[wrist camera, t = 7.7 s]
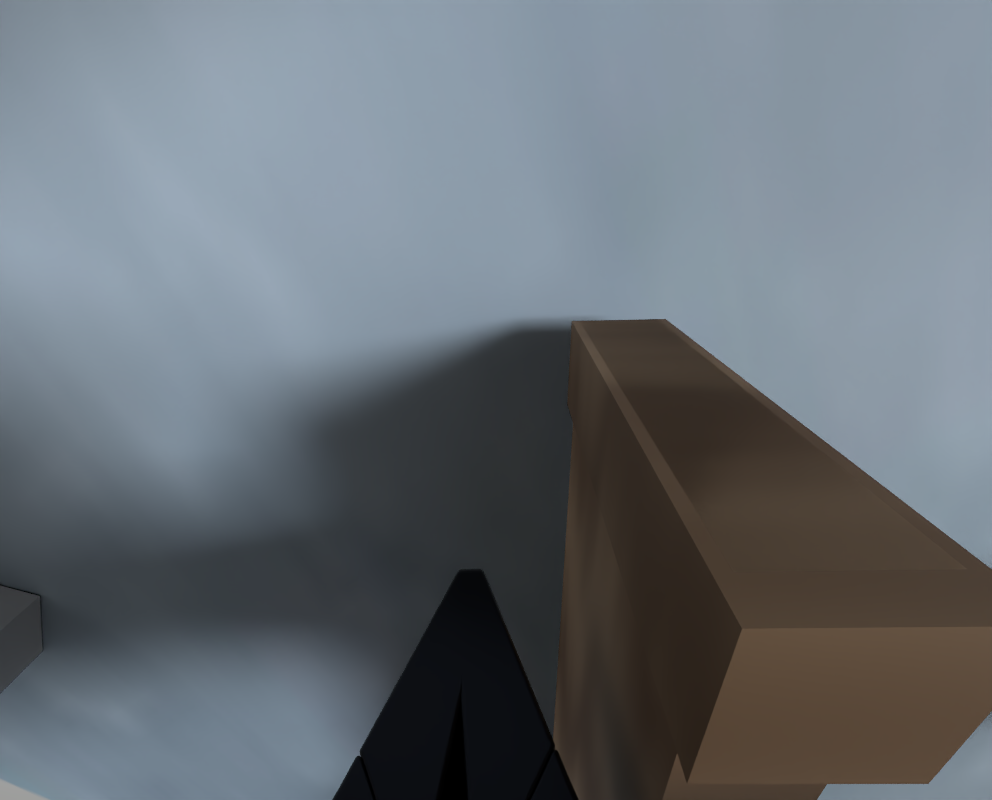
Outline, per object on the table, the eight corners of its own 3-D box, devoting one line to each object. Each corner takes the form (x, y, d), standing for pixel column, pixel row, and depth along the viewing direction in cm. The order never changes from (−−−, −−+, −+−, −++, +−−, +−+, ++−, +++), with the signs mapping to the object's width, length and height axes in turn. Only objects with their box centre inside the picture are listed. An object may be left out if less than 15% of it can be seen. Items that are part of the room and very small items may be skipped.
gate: (602, 790, 17) (666, 1167, 11) (529, 790, 17) (547, 1165, 11) (686, 311, 9) (1374, 753, 2) (538, 315, 9) (674, 753, 2)
